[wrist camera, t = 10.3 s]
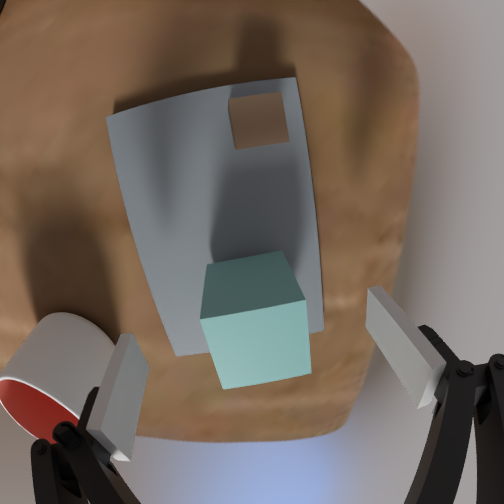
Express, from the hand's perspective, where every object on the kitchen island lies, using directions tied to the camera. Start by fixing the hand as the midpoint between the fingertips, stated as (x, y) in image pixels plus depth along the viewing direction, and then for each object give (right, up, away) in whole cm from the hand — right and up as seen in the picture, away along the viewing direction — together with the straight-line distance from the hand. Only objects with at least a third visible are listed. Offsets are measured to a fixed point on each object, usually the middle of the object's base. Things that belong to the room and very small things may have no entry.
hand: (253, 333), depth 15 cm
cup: (-17, -5, +10) cm, 20 cm away
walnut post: (0, +12, +3) cm, 13 cm away
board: (-2, +6, +6) cm, 9 cm away
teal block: (0, +2, +6) cm, 6 cm away
